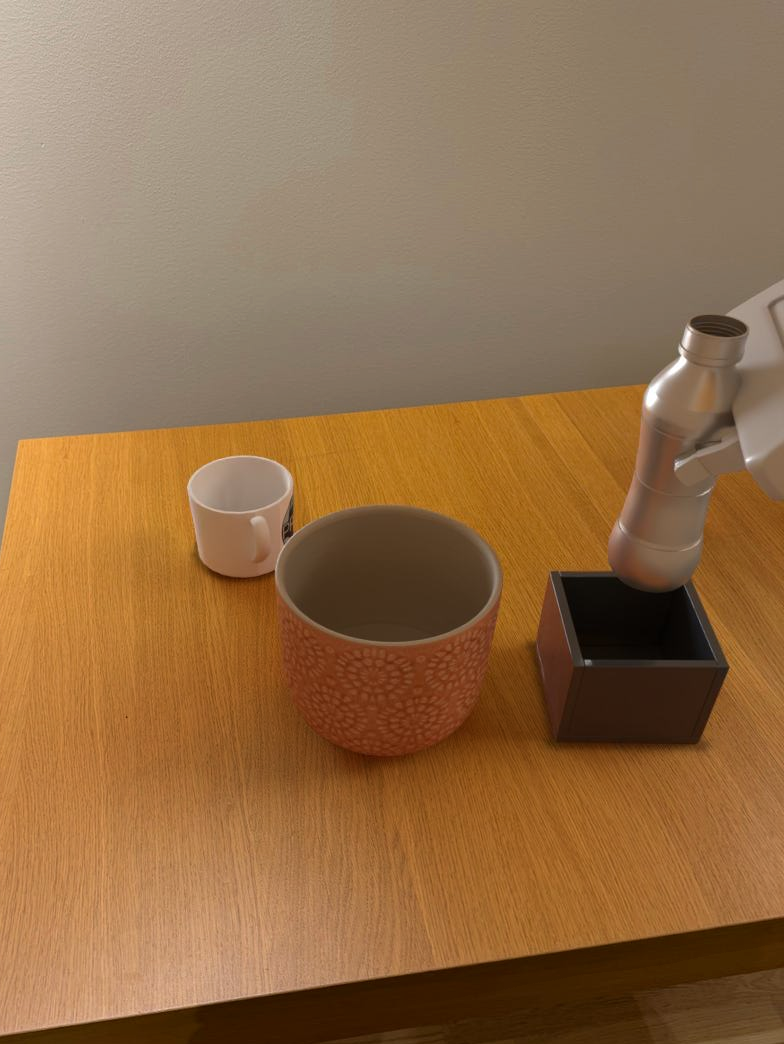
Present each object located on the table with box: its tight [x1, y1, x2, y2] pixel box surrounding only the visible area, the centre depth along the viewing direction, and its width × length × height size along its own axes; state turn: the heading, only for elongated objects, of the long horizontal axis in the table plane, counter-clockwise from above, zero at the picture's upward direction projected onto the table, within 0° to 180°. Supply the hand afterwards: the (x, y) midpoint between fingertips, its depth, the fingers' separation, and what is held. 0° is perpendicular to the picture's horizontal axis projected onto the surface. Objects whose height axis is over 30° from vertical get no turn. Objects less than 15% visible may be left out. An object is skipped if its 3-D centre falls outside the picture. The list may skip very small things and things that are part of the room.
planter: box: [274, 504, 504, 757], centre depth 74 cm, size 17×17×15 cm
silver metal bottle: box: [607, 313, 750, 593], centre depth 64 cm, size 6×7×20 cm
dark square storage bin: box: [534, 570, 731, 744], centre depth 77 cm, size 12×12×9 cm
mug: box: [186, 455, 295, 579], centre depth 92 cm, size 13×10×8 cm
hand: (674, 446), depth 63 cm, fingers closed on silver metal bottle, 6 cm apart
